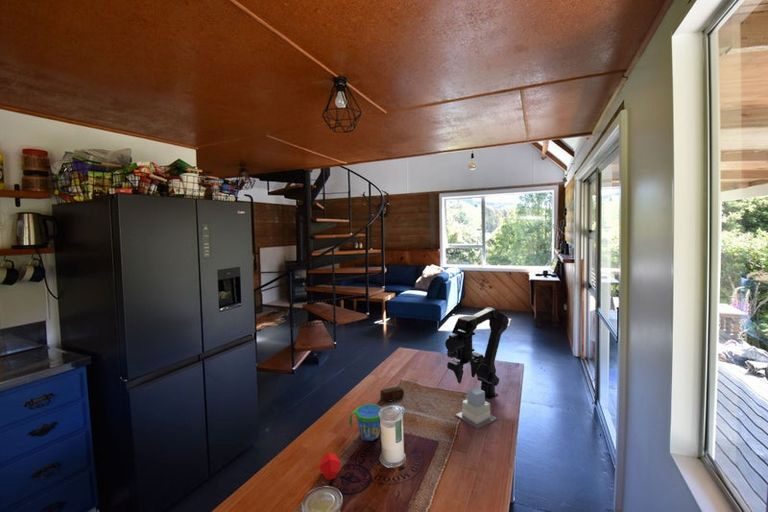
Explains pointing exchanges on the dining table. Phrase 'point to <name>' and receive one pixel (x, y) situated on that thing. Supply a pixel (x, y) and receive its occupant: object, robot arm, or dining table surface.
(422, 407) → the dining table surface
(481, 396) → the top block
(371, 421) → the snack cup
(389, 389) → the brick
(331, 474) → the red rounded lump
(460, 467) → the dining table surface
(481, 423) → the pale block on slab
